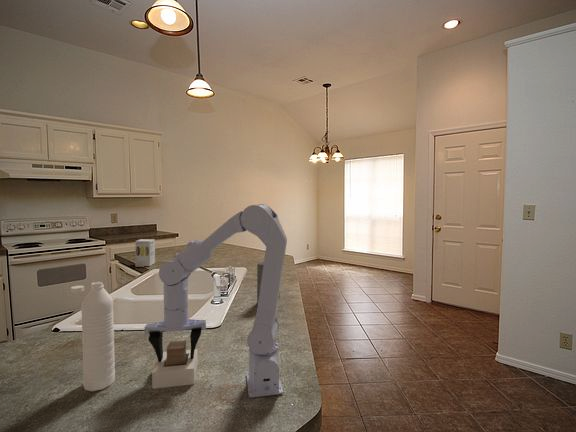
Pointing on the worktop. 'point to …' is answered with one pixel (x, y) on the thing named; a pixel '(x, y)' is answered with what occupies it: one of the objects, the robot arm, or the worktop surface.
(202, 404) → the worktop surface
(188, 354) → the ceramic well
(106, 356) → the water bottle
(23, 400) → the worktop surface
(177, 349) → the walnut peg
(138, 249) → the supplement box
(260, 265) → the flask
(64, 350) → the worktop surface
